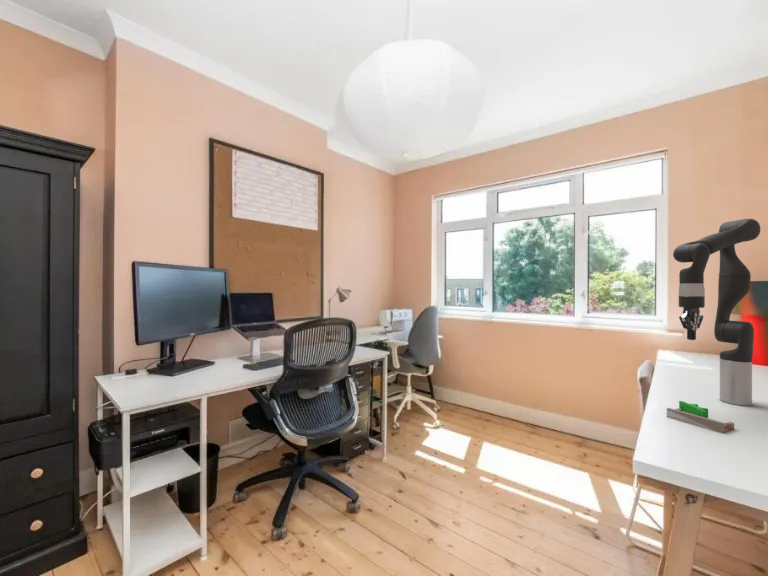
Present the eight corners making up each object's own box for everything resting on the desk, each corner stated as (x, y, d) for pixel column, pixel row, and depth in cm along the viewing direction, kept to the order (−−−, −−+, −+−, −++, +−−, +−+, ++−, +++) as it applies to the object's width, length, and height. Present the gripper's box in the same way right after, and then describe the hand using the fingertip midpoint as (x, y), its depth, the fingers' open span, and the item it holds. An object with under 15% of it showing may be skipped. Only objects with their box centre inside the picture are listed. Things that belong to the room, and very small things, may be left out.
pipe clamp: (715, 425, 114) (715, 411, 114) (703, 424, 115) (703, 411, 115) (690, 413, 126) (690, 401, 125) (679, 412, 126) (679, 400, 126)
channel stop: (679, 413, 125) (679, 405, 125) (734, 428, 111) (734, 419, 111) (666, 416, 121) (666, 408, 121) (722, 432, 108) (722, 423, 108)
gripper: (688, 295, 138) (688, 337, 138) (670, 295, 132) (670, 339, 132) (712, 295, 131) (712, 340, 131) (694, 295, 125) (694, 342, 125)
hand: (691, 339), depth 131 cm, fingers closed
